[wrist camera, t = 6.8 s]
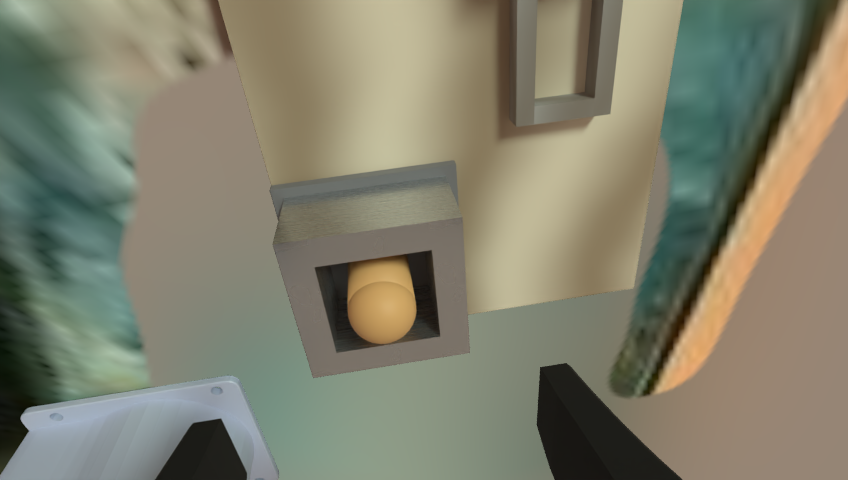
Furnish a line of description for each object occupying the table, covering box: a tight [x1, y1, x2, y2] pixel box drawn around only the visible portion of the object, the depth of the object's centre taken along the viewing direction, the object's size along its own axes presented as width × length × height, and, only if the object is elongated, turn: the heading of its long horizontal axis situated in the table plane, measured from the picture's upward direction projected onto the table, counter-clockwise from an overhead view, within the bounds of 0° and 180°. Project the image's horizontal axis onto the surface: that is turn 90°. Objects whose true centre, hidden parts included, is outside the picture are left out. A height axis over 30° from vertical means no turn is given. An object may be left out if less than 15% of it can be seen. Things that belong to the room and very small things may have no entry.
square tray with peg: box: [270, 160, 459, 344], centre depth 17 cm, size 6×6×5 cm
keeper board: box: [218, 0, 683, 314], centre depth 16 cm, size 14×18×3 cm
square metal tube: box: [273, 176, 470, 378], centre depth 17 cm, size 6×6×3 cm
